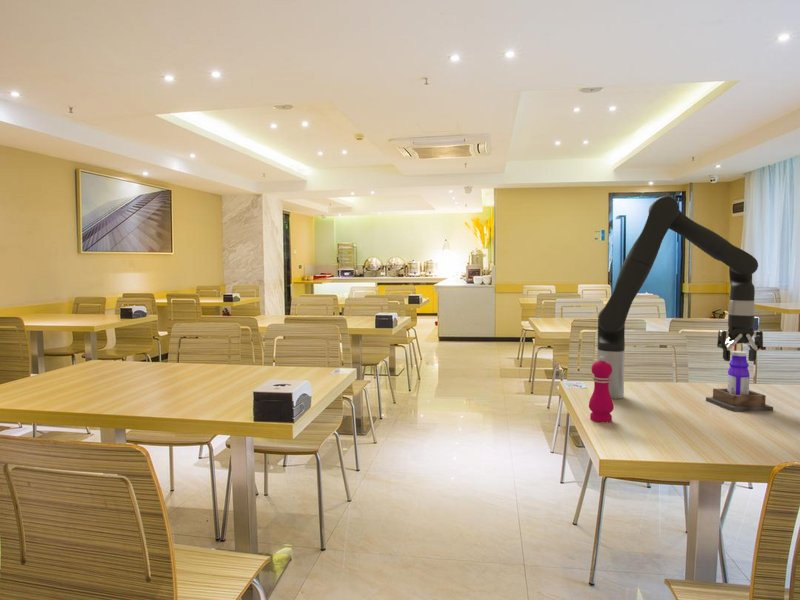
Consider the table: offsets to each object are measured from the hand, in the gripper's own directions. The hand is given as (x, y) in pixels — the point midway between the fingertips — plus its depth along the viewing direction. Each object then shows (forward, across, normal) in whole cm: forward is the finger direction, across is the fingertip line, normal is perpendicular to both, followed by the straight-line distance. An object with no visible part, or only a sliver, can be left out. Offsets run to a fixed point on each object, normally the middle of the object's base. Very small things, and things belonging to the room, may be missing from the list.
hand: (739, 360), depth 180 cm
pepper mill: (+16, -54, -16) cm, 58 cm away
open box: (+15, 0, 0) cm, 15 cm away
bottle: (+14, 0, 0) cm, 14 cm away
